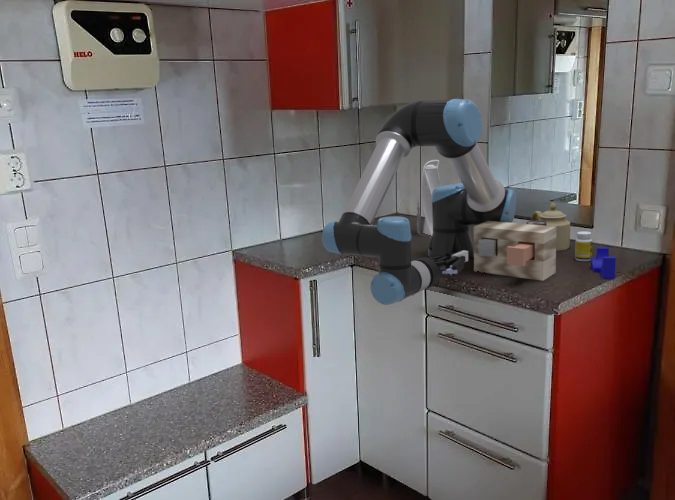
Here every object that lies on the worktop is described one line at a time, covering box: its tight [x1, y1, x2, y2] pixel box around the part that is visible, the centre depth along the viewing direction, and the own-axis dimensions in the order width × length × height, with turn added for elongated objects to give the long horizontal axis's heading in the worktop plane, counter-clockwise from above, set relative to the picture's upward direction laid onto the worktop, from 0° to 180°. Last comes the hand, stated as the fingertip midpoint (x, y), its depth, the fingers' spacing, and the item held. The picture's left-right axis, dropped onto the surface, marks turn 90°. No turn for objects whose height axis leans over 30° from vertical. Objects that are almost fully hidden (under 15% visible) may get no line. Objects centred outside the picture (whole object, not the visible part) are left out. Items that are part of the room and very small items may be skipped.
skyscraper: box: [416, 159, 442, 236], centre depth 234 cm, size 8×8×28 cm
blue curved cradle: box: [590, 246, 617, 280], centre depth 177 cm, size 12×4×6 cm, turn 167°
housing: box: [473, 221, 557, 282], centre depth 182 cm, size 21×9×14 cm, turn 50°
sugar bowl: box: [531, 202, 571, 252], centre depth 208 cm, size 15×11×15 cm
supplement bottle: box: [574, 231, 593, 262], centre depth 190 cm, size 5×5×8 cm
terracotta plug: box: [507, 242, 535, 266], centre depth 174 cm, size 5×12×5 cm, turn 140°
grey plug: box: [479, 238, 498, 257], centre depth 185 cm, size 5×12×5 cm, turn 140°
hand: (465, 255), depth 170 cm, fingers closed
